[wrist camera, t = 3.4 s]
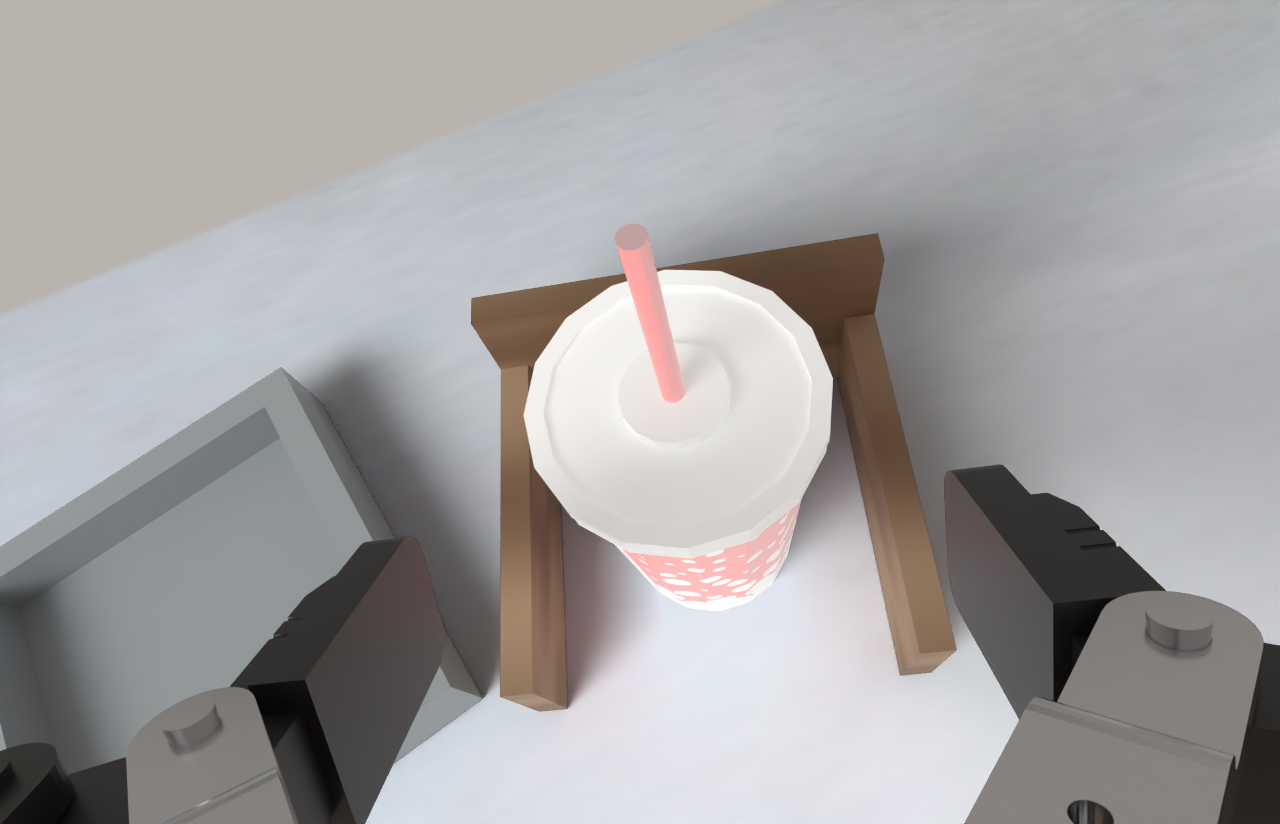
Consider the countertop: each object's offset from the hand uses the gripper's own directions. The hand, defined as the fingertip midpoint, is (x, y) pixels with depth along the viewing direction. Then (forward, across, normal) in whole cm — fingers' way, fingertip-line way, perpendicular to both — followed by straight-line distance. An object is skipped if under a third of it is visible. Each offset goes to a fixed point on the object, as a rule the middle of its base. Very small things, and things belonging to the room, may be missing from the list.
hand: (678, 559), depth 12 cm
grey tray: (+9, +15, +6) cm, 19 cm away
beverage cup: (+11, 0, +5) cm, 12 cm away
